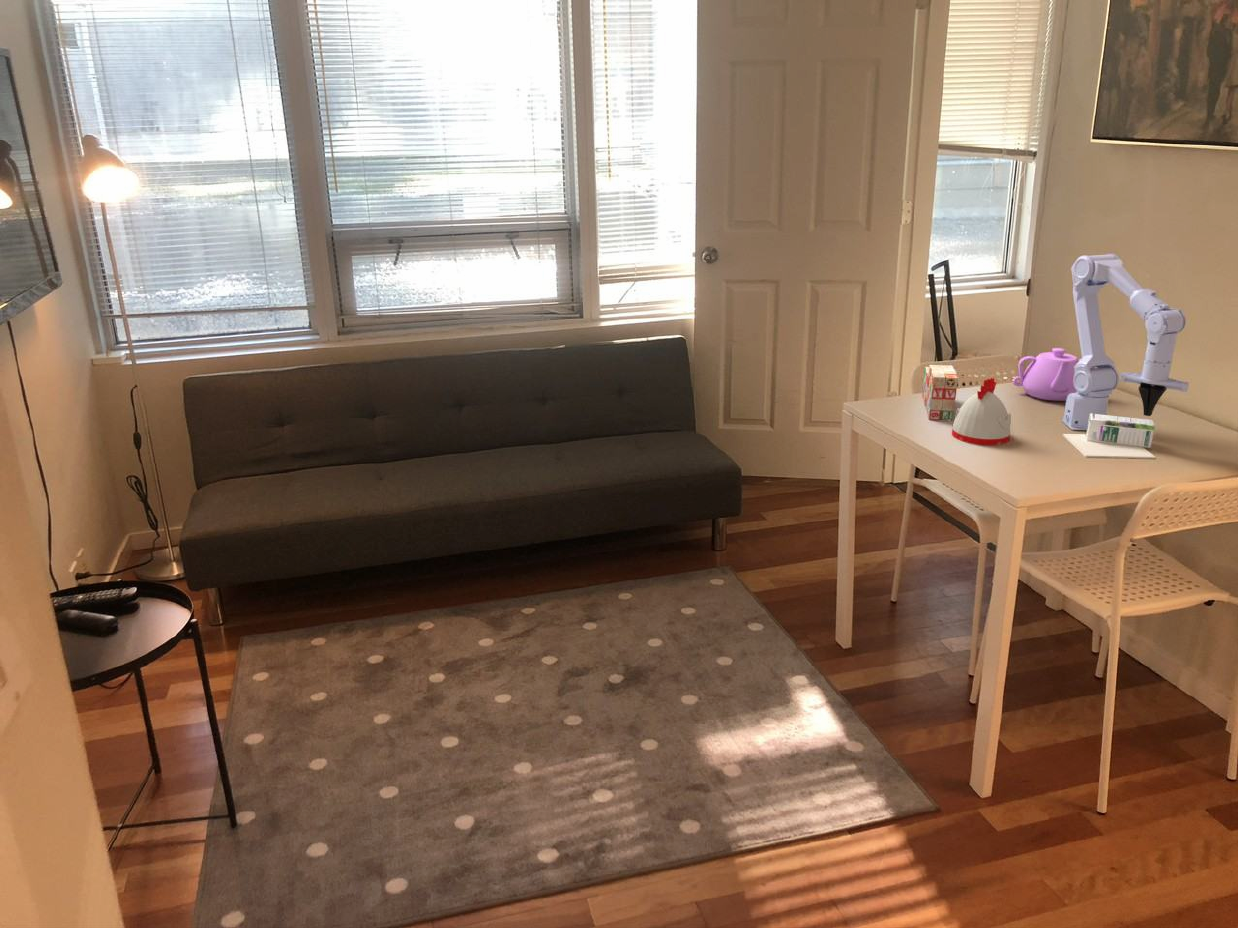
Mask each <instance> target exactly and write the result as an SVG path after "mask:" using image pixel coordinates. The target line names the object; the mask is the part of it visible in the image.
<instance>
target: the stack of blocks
mask: <svg viewBox="0 0 1238 928" xmlns="http://www.w3.org/2000/svg"><path fill="white" fill-rule="evenodd" d="M958 381H959V377H958V375H957V372H956V370H955V368H954V366H953V365H945V364H944V365H943V364H929V366H924V370H923V388H922V396H921V397H922V401H924V402H923V404H924V407H926V408H925V410H926V415H927V414H928V415H927V418H928V420H929V419H930V420H929V421H940V420H950V421H949V422H953V418H954V413H955V410H954V409H955V404H956V403H955V402H956V398H957V397H956V396H957V390H958V389H957V388H958Z"/></svg>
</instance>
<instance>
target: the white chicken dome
mask: <svg viewBox="0 0 1238 928" xmlns="http://www.w3.org/2000/svg"><path fill="white" fill-rule="evenodd" d="M996 385H997V382H996V381H995V378H993V377H992V378H991V377H990V378H987V379H984V381H983V384H982V385H980V390H977V392H976V393H975V394H973V395H971V396H970V397H969V398H967V399H966V401H965V402H964V403H963V404H962V405H961V407H960V408H958V407H957V409H956V412H955V418H954V421H953V424H952V429H951V436H952V437H953V438H954V439H956V440H958V441H961V442H964V443H967V444H971V443H972V444H973V445H977V444H978V446H999V445H998V444H1000V445H1004V444H1006V443H1008V442H1009V441H1010V437H1011V424H1012V414H1011V413H1010V412H1009V413H1008V411H1007V409H1006V406H1005V404H1004V403H1003V401H1002V400H1001V399H1000V397H998V396H997V395H996V394H994V391H995V389H996ZM1003 443H1004V444H1003Z"/></svg>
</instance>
